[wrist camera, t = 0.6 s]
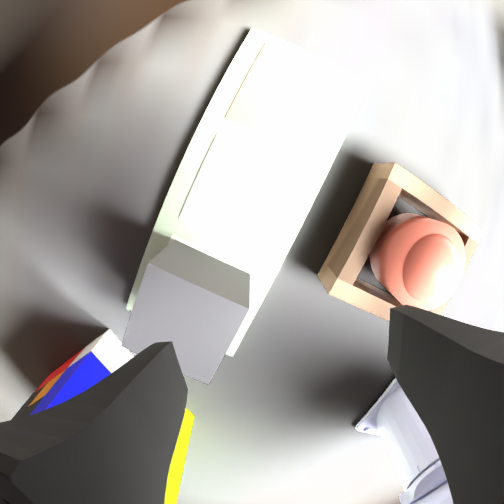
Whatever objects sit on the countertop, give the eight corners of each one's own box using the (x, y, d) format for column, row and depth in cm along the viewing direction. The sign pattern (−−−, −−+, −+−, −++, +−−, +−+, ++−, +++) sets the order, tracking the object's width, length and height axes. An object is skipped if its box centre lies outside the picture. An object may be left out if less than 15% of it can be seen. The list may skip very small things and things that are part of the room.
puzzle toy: (109, 328, 21) (41, 413, 11) (194, 415, 23) (174, 514, 13) (49, 373, 22) (-6, 441, 12) (122, 444, 24) (92, 519, 14)
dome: (448, 235, 17) (491, 252, 13) (413, 302, 18) (448, 333, 14) (393, 198, 16) (434, 207, 12) (355, 272, 18) (384, 302, 13)
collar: (457, 221, 18) (483, 230, 15) (406, 317, 20) (426, 337, 17) (373, 163, 18) (395, 162, 15) (317, 275, 19) (328, 294, 16)
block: (250, 273, 19) (249, 308, 14) (217, 338, 20) (208, 385, 15) (174, 239, 18) (148, 262, 13) (148, 307, 19) (121, 345, 14)
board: (366, 85, 16) (370, 83, 16) (232, 352, 21) (232, 357, 20) (252, 31, 16) (252, 26, 15) (128, 305, 20) (125, 309, 19)
